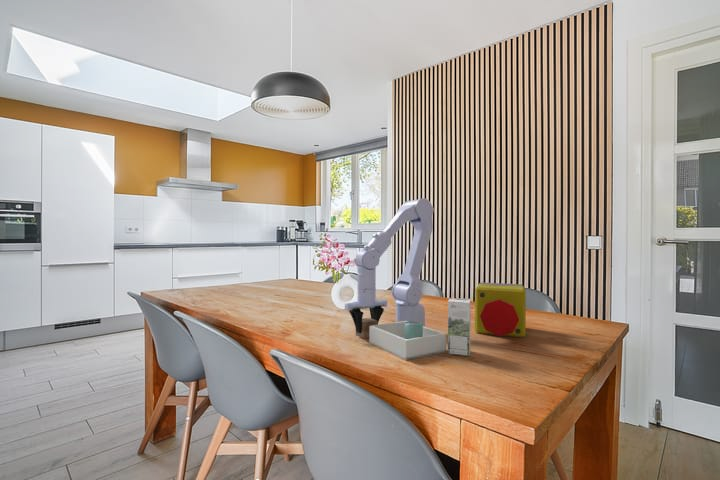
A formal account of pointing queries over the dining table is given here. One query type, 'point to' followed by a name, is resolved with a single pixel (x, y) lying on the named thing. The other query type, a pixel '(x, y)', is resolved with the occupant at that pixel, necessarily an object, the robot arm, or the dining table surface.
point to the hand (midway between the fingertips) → (366, 331)
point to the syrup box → (459, 326)
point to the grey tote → (406, 341)
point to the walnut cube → (366, 327)
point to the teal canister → (413, 330)
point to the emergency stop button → (500, 309)
